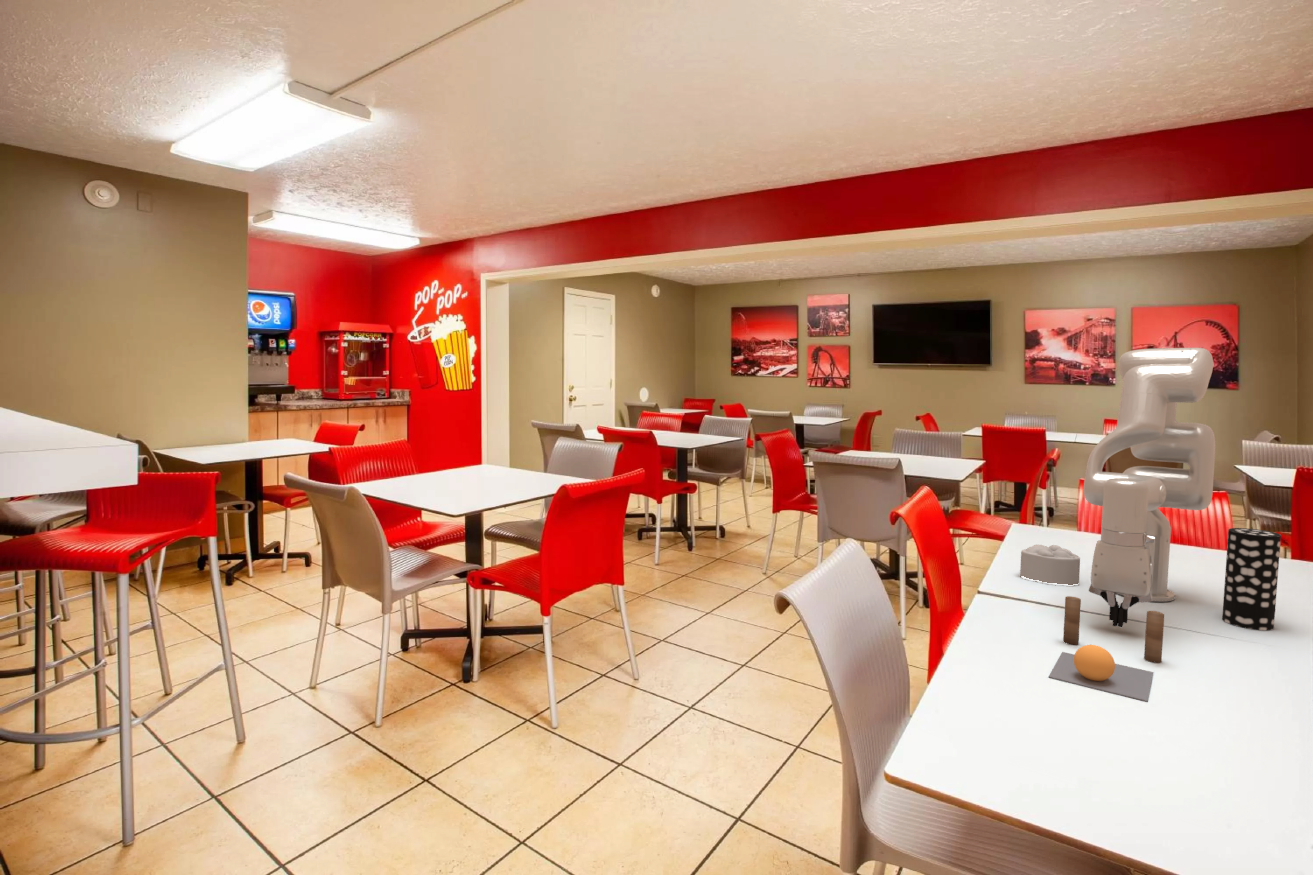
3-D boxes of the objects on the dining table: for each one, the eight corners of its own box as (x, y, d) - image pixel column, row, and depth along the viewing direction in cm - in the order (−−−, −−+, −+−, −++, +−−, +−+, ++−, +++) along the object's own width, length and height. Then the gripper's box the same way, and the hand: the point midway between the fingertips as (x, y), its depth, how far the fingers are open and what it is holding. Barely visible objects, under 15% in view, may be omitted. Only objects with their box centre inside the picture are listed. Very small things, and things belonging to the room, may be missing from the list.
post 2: (1144, 655, 125) (1147, 609, 124) (1161, 659, 123) (1164, 612, 123) (1143, 660, 123) (1146, 613, 122) (1161, 664, 121) (1164, 616, 121)
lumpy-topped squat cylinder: (1031, 570, 183) (1032, 540, 182) (1084, 581, 173) (1086, 549, 172) (1016, 578, 176) (1017, 546, 175) (1071, 589, 166) (1073, 555, 165)
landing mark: (1062, 652, 126) (1062, 651, 126) (1153, 673, 117) (1153, 672, 117) (1048, 677, 116) (1048, 676, 116) (1147, 701, 107) (1147, 700, 107)
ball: (1069, 675, 114) (1074, 673, 119) (1110, 687, 110) (1114, 684, 115) (1073, 641, 115) (1078, 639, 119) (1115, 651, 111) (1118, 649, 115)
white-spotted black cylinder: (1253, 617, 146) (1259, 528, 144) (1284, 631, 138) (1292, 537, 136) (1212, 615, 147) (1218, 527, 145) (1241, 629, 138) (1248, 536, 137)
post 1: (1064, 638, 133) (1066, 595, 133) (1079, 642, 132) (1081, 598, 131) (1062, 642, 131) (1064, 598, 131) (1077, 646, 130) (1079, 601, 129)
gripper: (1169, 540, 134) (1164, 628, 135) (1082, 530, 143) (1078, 612, 145) (1167, 547, 128) (1162, 639, 129) (1077, 536, 138) (1073, 621, 139)
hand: (1117, 624), depth 137 cm, fingers closed
